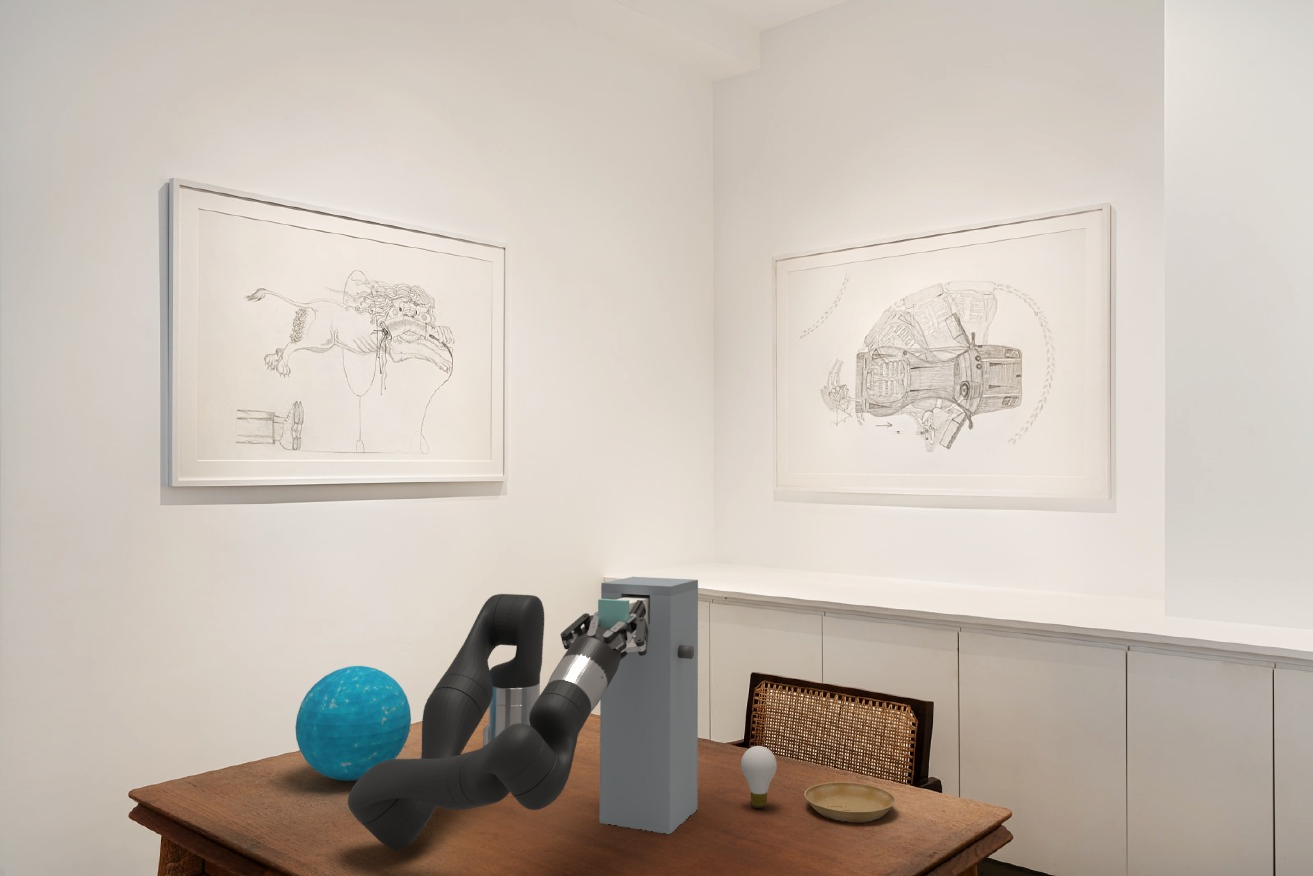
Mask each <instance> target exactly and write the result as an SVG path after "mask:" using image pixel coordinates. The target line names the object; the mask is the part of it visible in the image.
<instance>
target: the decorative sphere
mask: <svg viewBox="0 0 1313 876" xmlns="http://www.w3.org/2000/svg"><path fill="white" fill-rule="evenodd" d="M301 701H302V702H301V703H300V706H299V709H298V712H297V716H296V720H295V726H294V727H295V738H296V742H297V746H298V749H299V751H300V752H301V754H302V757H303V759H304V760H305V761H306V763H308V764H309V766H310V767H311V768H312V769H314V770H315V771H316V772H317V773H319V774H321V775H322V776H323V777H328V778H330V779H334V780H335V781H336V780H337V781H341V782H342V781H345V782H346V781H347V782H348V781H358V780H359V778H360V777H361V776H362V775H363V774H364V773H365V772H366V771H367V770H369V769H370V768H371V767H373V766H374V765H376V764H378V763H380V762H383V761H386V760H390V759H397V757H398V756H399V755H400V753H401V752H402V750H403V748H404V746H405V745H406V744H407V741H408V738H409V734H410V730H411V725H412V724H411V723H412V717H411V716H412V715H411V707H410V706H411V705H410V704H409V700H408V696H407V694H406V693H405V691H404V689H403V688H402V686H401V685H400V684H399V683H398V682H397V681H396V679H395V678H393V677H392V676H390V675H389V674H388V673H386V672H384V671H383V670H379V669H378V668H376V667H372V666H371V667H370V666H365V665H352V666H351V665H350V666H346V667H343V668H339V669H336V670H333V671H332V672H330V673H327V674H325V675H324V676H323V677H321V679H319V680H318V681H317V682H316V683H314V684H313V686H312V687H311V688H310V689H309V690H308V692H306V694H305V696H304V698H303V700H301Z"/></svg>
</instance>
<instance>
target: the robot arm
mask: <svg viewBox="0 0 1313 876" xmlns="http://www.w3.org/2000/svg"><path fill="white" fill-rule="evenodd" d="M609 599H611V598H609ZM645 614H646V609H645V605H644V604H643V601H642V600H637V601H636V603H635V605H634V606H633V608H632V610H631V611H630V613H629V616H628V618H627V620H626V621H621V620H620V621H619V622H618V623H617V624H615V625H614V626H613V627H611V628H606V627H602V626H601V621H600V619H598V611H595V612H594V613H593V615H590V614H589V613H587V612H586V613H583V614H582V615H581V616H580V617H578V618H577V619H576V620H574V621H573V622H572V623H571V624H570V625H568V627H566V628H565V629H564V630H563V631H562V632H561V633H560V635H559V636H560V638H561V642H562V645H563V649H564V650H567V651H566V652H565V653H564V655H563V657H561V659H560V661H559V662H558V663H557V665H556V667H555V668H554V670H553V672H552V673H551V675H550V677H549V679H548V682H547V684H546V686H545V687H544V688H543V689H542V691H541V683H540V682H541V670H542V665H543V650H544V649H543V648H544V637H545V636H544V635H545V634H544V632H545V631H544V630H545V608H544V605H543V601H542V600H541V599H540V597H538V596H537V595H533V594H532V595H531V594H514V593H499V594H498V593H497V594H494V595H492V596H490V597H489V598H488V599H486V601H485V602H484V604H483V605H482V607H481V609H480V611H479V613H478V614H477V616H476V618H475V620H474V623H473V624H472V626H471V628H470V631H469V632H468V634H467V636H466V639H465V641H464V642H463V644H462V645H461V648H459V651H458V652H457V654H456V655H455V657H454V658H453V661H451V664H450V665H449V667H448V668H447V670H446V671H445V673H444V674H443V675H442V677H441V678H440V680H439V681H438V682H437V684H436V686H435V687H434V689H433V690H432V691H431V693H430V695H429V696H428V698H427V699H426V702H425V703H424V708H423V713H422V719H421V720H422V723H421V724H422V726H421V753H420V754H421V756H420V758H395V759H390V760H386V761H383V762H380V763H378V764H376V765H374V766H373V767H371V768H370V769H369V770H367V771H366V772H365V773H364V774H363V775H362V776H361V777H360V778H359V780H356V782H355V784H354V785H353V786H352V788H351V790H350V792H349V794H348V797H347V806H348V809H349V811H350V813H351V814H352V815H353V816H354V817H355V819H356V820H357V821H358V822H359V823H360V824H361V825H362V826H364V828H365V829H367V831H369V832H370V834H371V835H373V837H375V838H376V839H377V840H378V841H379V842H380V843H381V844H382V845H384V846H385V847H386V848H388V849H389V850H393V851H398V850H402V849H405V848H406V847H408V846H409V845H410V844H412V843H413V842H414V841H415V839H417V838H418V836H419V835H420V834H421V833H422V831H423V830H424V829H425V827H426V826H427V824H428V823H429V821H430V819H431V817H432V816H433V814H434V812H435V810H436V808H437V807H438V808H442V809H447V810H453V811H465V810H471V809H477V808H480V807H485V806H490V805H493V804H496V803H499V802H501V801H502V800H504V799H505V798H507V796H508V795H509V794H511V795H512V796H513V798H514V799H515V800H516V801H517V802H518V804H520V805H521V806H522V807H523V808H525V809H527V810H530V811H538V810H543V809H545V808H547V807H548V806H550V805H551V804H552V803H554V802H555V801H556V800H557V798H559V796H560V794H562V792H563V790H564V789H565V787H566V784H567V782H568V780H569V777H570V774H571V770H572V766H573V760H574V757H575V751H576V749H577V744H578V737H579V734H580V732H581V730H582V729H583V726H584V725H585V723H586V722H587V720H588V718H589V717H590V715H591V713H592V712H593V710H595V708H596V707H597V706H598V704H600V703H599V702H600V699H601V698H602V696H603V694H604V692H605V691H606V689H607V687H608V685H609V684H610V682H611V680H612V679H613V677H614V675H615V673H616V671H617V669H618V666H619V663H620V660H621V659H622V658H624V657H625V656H626V655H627V654H628V653H629V652H637V651H638V654H639V655H640V656H643V655H645V654H646V653H647V645H648V634H649V631H648V627H647V623H646V619H645V617H644V616H645ZM582 626H583V627H582ZM629 626H631V627H630V628H629ZM635 633H636V635H634V634H635ZM633 635H634V636H633ZM632 636H633V639H632V640H631V638H632ZM630 641H631V642H630ZM629 642H630V643H629ZM499 646H511V647H513V646H514V647H516V649H515V656H514V657H513V658H512V659H510V660H509V661H505V662H503V663H499V664H497V665H494V666H492V667H491V668H490V667H489V659H490V655H491V654H492V652H493V651H494V650H495V649H496V648H497V647H499ZM487 710H488V711H487ZM487 712H488V721H487V722H488V723H487V725H485V726H484V727H483V732H482V733H483V735H482V736H483V739H482V740H483V741H482V742H483V743H482V747H481V748H478V749H475V750H472V751H468V752H464V753H463V751H464V749H465V748H466V746H467V744H468V742H469V740H470V739H471V737H472V736H473V734H474V733H475V731H476V729H477V727H478V726H479V724H480V723H481V722H482V719H483V718H484V716H485V714H486V713H487Z"/></svg>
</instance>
